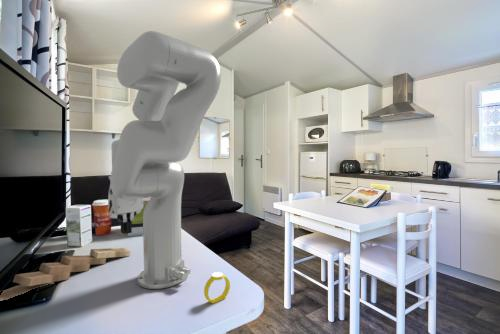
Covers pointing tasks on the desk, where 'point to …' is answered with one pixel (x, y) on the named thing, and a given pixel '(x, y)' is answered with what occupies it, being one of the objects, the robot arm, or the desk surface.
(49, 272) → the tile
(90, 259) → the tile
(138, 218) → the tea box
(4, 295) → the wooden domino block
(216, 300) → the gold ring
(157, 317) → the desk surface
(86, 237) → the syrup box
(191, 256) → the desk surface
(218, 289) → the desk surface
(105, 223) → the paper cup
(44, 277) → the tile
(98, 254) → the tile
